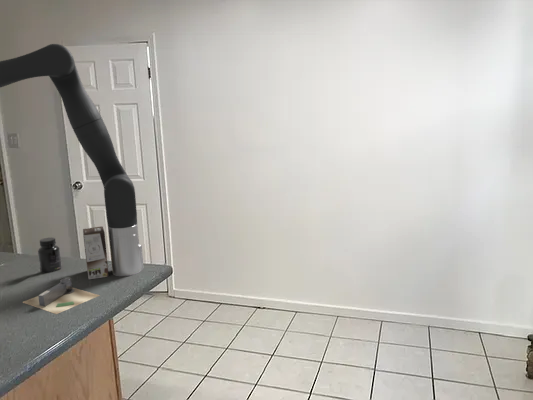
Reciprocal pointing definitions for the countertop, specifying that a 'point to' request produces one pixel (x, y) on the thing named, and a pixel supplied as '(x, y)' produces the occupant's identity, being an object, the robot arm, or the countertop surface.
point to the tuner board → (63, 301)
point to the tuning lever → (55, 291)
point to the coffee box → (95, 252)
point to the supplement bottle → (49, 256)
